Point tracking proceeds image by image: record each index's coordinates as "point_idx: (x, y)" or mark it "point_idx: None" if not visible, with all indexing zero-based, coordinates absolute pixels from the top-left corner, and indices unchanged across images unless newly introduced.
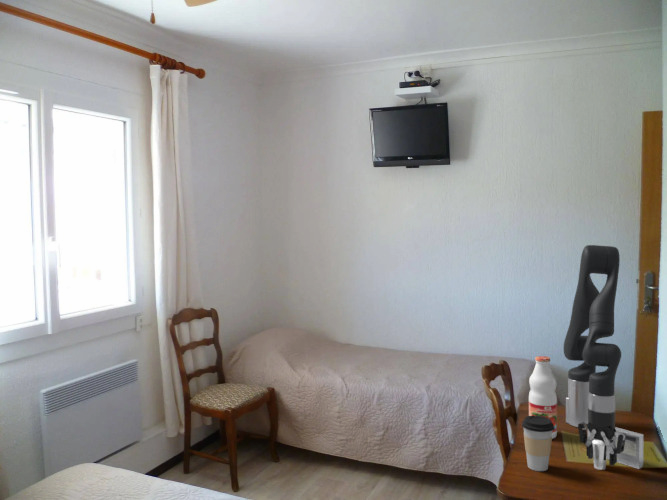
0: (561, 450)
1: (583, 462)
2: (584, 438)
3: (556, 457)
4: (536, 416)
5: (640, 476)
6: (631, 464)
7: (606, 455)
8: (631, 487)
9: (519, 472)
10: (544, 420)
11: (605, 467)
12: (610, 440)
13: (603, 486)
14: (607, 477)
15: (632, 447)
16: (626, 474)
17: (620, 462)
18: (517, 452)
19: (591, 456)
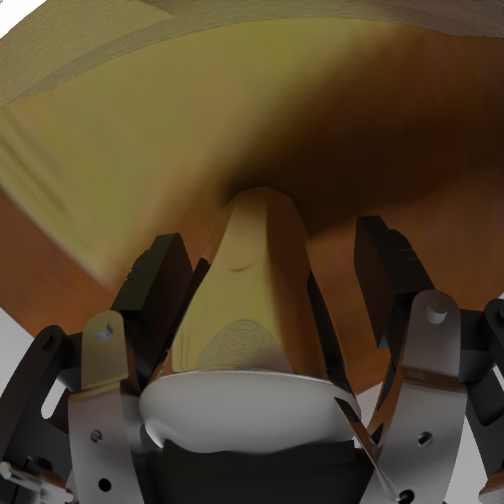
0: (4, 202)
1: (147, 233)
2: (69, 385)
3: (64, 284)
4: None
5: (489, 147)
6: (415, 23)
7: (311, 264)
8: (464, 292)
9: None
10: None
11: (296, 208)
12: (397, 437)
13: (372, 355)
14: (360, 293)
15: None
16: (431, 180)
17: (316, 15)
18: (28, 330)
19: (185, 272)
